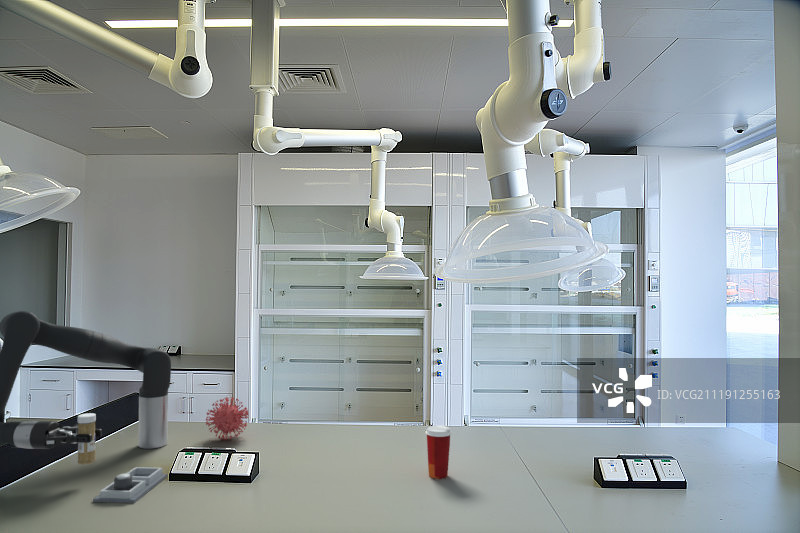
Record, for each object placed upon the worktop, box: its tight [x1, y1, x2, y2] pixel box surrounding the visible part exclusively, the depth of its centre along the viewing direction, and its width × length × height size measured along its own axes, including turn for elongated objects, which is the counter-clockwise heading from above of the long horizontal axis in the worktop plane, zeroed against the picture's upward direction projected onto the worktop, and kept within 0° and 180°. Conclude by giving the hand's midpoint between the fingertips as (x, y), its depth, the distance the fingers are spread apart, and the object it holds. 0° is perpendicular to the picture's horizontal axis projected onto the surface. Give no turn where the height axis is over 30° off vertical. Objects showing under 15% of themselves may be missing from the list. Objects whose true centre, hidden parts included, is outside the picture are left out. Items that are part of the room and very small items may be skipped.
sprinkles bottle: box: [76, 412, 97, 465], centre depth 162 cm, size 5×5×14 cm
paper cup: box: [424, 425, 452, 480], centre depth 171 cm, size 8×8×14 cm
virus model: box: [205, 396, 250, 440], centre depth 207 cm, size 15×15×15 cm
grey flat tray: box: [92, 466, 168, 504], centre depth 158 cm, size 19×11×5 cm, turn 178°
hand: (96, 435), depth 162 cm, fingers closed on sprinkles bottle, 4 cm apart
